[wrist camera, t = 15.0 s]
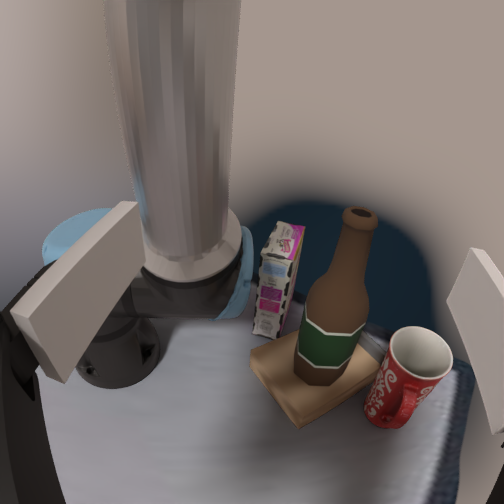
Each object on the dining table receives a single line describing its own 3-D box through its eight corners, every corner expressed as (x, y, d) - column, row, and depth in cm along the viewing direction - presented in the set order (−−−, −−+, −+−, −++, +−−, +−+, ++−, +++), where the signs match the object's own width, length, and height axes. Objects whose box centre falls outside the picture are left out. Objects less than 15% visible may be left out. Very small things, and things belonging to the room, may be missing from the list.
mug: (366, 377, 45) (396, 316, 38) (415, 395, 42) (454, 337, 35) (339, 441, 36) (374, 388, 29) (397, 461, 32) (447, 413, 25)
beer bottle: (302, 340, 47) (333, 190, 34) (349, 357, 44) (401, 209, 31) (281, 376, 41) (312, 215, 28) (334, 397, 38) (396, 240, 25)
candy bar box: (280, 342, 52) (294, 260, 43) (251, 335, 53) (258, 253, 44) (293, 301, 61) (306, 224, 52) (268, 295, 62) (276, 219, 53)
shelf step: (249, 366, 47) (251, 340, 44) (327, 330, 54) (335, 304, 51) (298, 429, 38) (306, 408, 35) (377, 378, 45) (390, 354, 42)
